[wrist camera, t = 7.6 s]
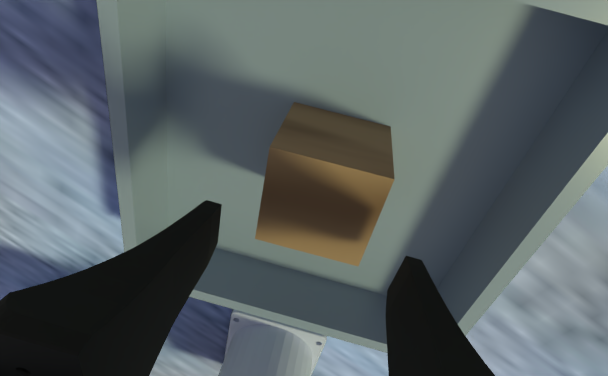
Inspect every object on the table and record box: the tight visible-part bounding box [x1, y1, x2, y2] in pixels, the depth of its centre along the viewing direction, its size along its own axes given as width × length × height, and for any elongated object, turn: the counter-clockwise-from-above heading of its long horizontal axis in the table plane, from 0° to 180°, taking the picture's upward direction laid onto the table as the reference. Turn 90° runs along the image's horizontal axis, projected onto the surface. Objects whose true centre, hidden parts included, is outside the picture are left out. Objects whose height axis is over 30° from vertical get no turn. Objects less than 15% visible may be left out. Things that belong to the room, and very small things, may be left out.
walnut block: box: [255, 102, 395, 266], centre depth 17 cm, size 5×5×5 cm
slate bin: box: [96, 0, 608, 353], centre depth 18 cm, size 20×20×4 cm
